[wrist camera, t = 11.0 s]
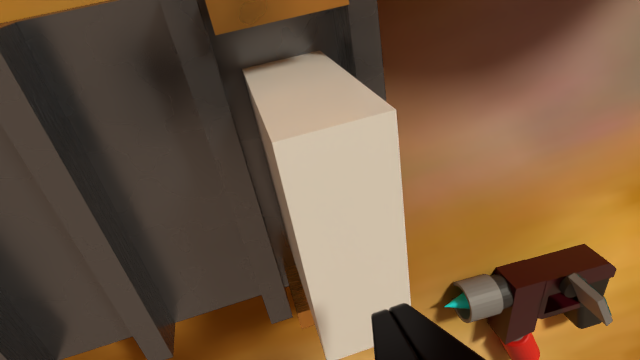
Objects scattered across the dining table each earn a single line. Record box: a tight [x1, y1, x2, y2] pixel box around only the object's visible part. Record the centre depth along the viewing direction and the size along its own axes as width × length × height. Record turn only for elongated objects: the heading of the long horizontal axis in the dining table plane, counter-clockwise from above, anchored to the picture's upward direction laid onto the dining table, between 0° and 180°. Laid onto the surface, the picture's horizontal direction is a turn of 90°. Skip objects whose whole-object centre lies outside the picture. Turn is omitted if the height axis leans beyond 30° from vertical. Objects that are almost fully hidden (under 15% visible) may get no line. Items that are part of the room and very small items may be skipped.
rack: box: [0, 0, 386, 360], centre depth 16 cm, size 14×18×4 cm
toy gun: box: [444, 244, 616, 360], centre depth 27 cm, size 10×12×5 cm
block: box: [242, 51, 411, 360], centre depth 14 cm, size 8×3×7 cm, turn 10°
